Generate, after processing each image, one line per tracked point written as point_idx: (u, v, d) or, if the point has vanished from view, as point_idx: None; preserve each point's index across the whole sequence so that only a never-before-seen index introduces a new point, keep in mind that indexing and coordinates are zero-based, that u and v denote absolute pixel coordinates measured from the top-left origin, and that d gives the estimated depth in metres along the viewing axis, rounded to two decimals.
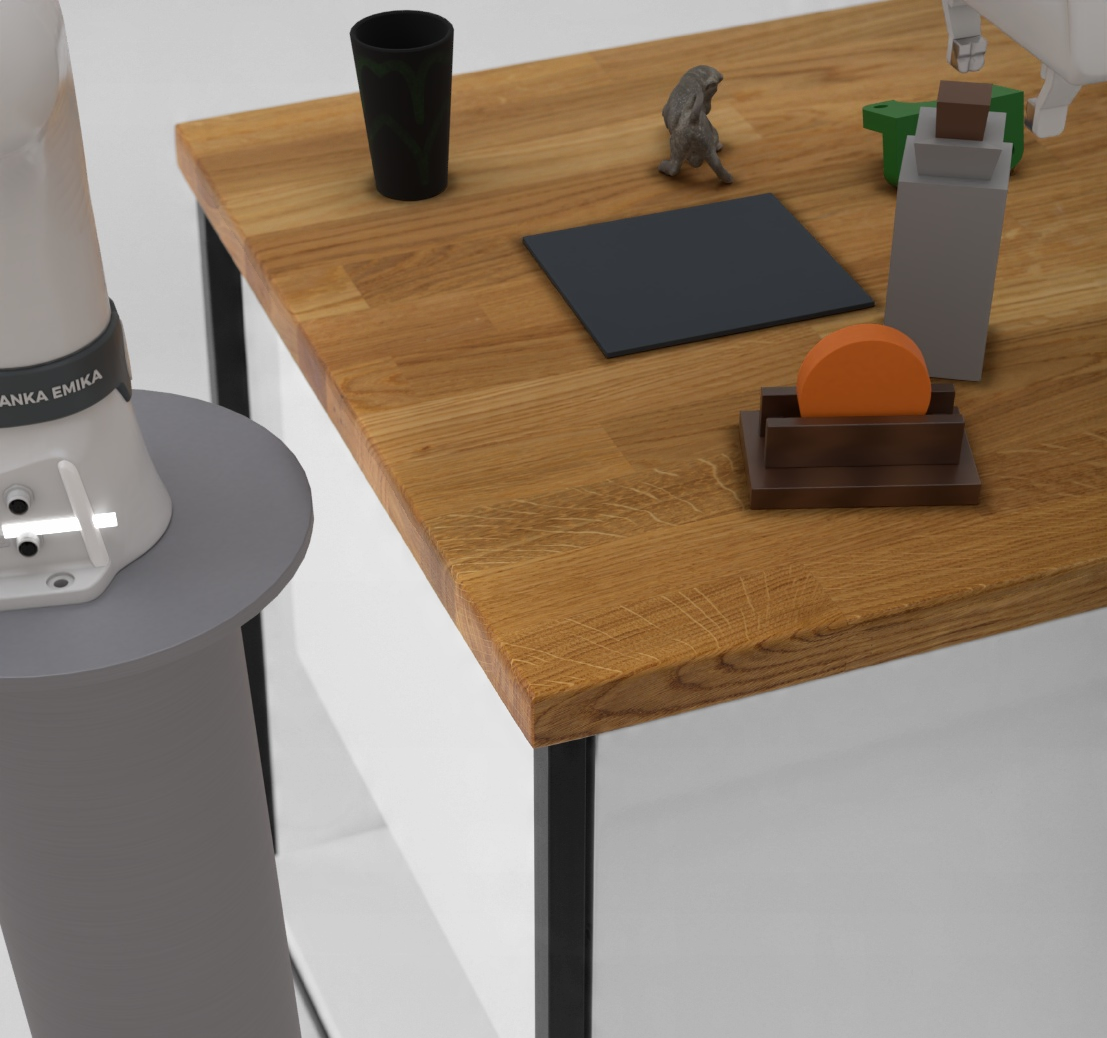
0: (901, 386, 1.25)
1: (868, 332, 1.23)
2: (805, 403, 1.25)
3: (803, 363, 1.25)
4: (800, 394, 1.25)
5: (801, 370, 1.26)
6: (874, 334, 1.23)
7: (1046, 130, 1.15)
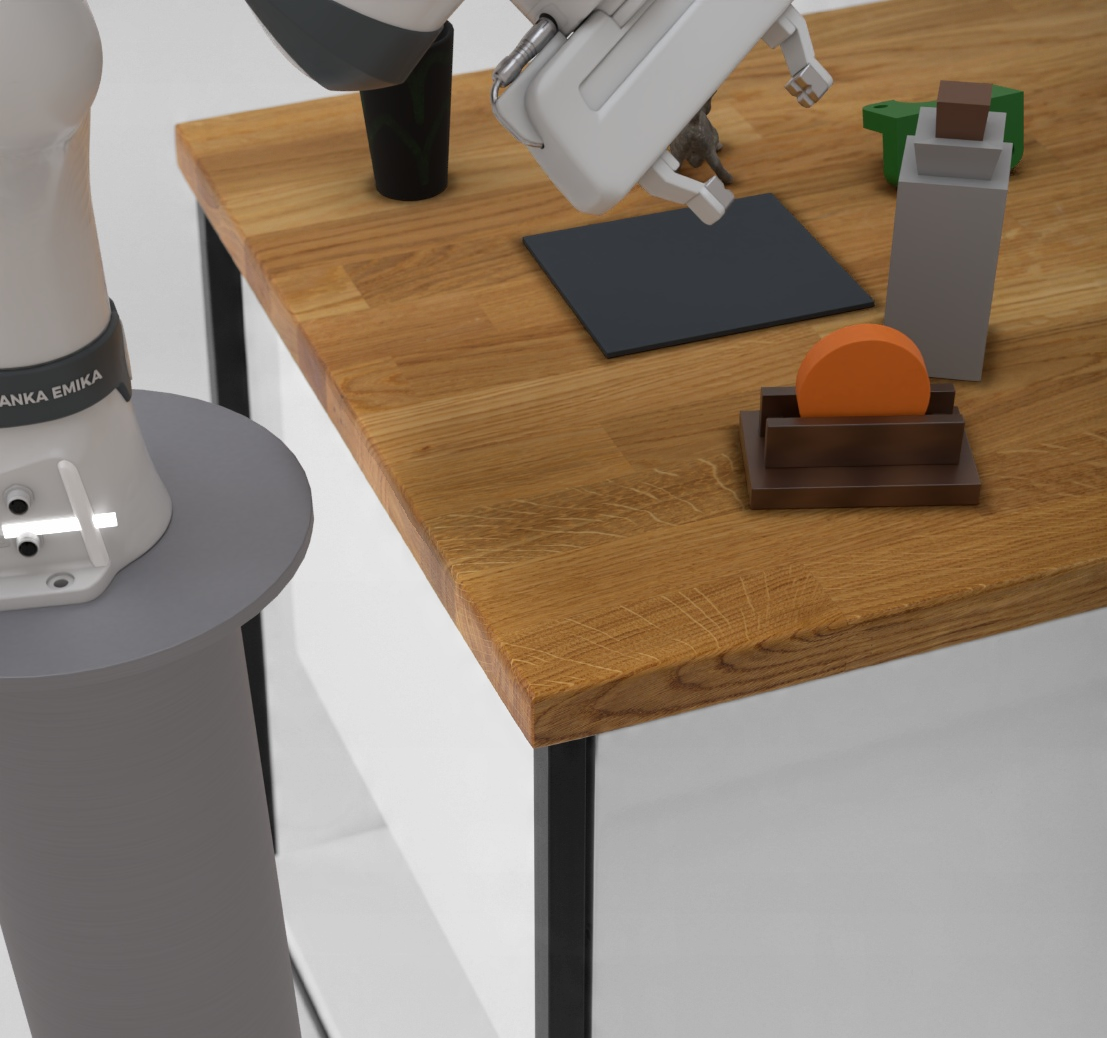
0: (900, 386, 1.25)
1: (866, 332, 1.23)
2: (804, 404, 1.25)
3: (802, 364, 1.25)
4: (799, 395, 1.25)
5: (800, 370, 1.26)
6: (872, 334, 1.23)
7: None
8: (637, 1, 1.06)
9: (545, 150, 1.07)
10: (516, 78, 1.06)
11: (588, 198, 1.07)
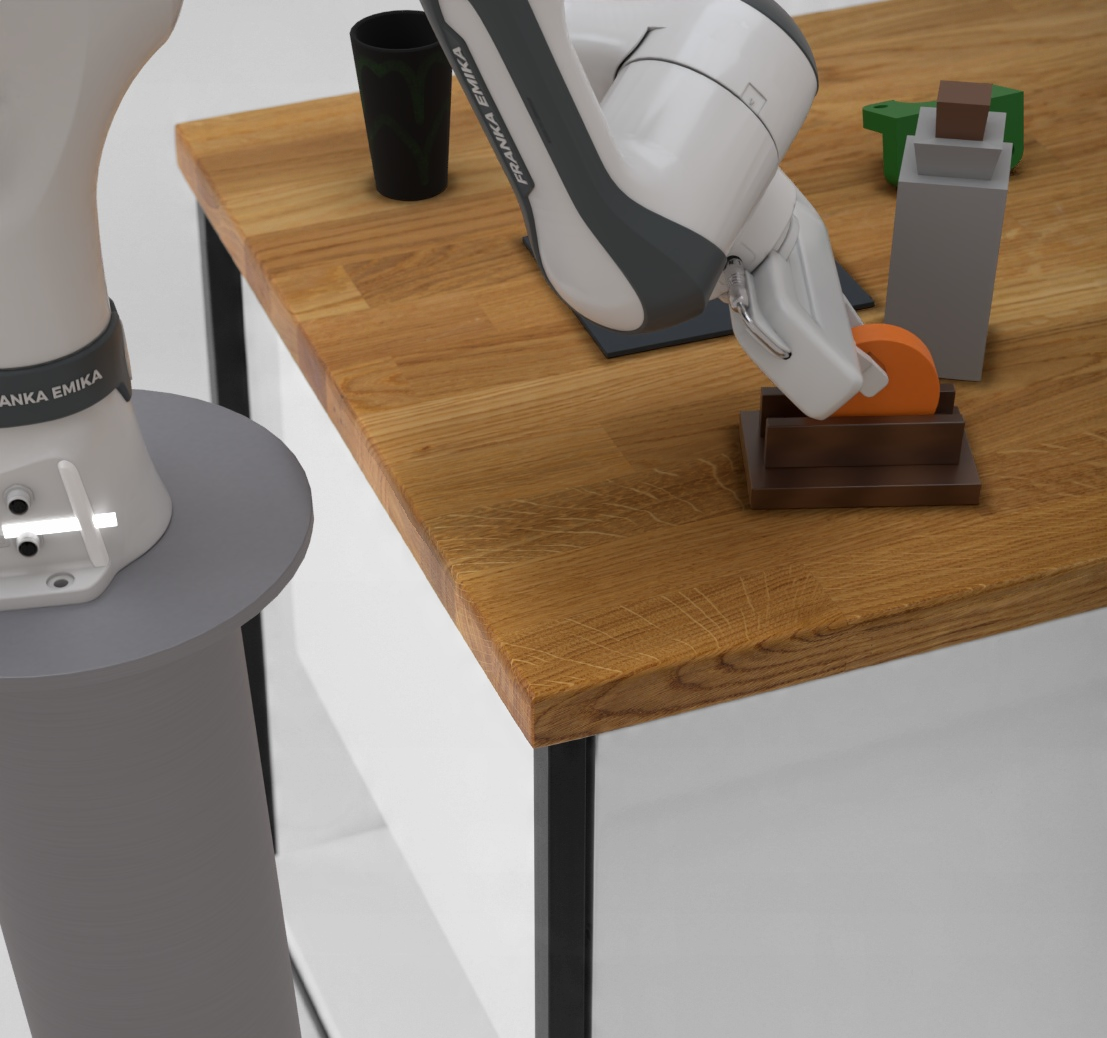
0: (910, 390, 1.25)
1: (885, 332, 1.23)
2: None
3: None
4: None
5: None
6: (891, 335, 1.23)
7: None
8: (794, 237, 1.17)
9: (790, 360, 1.13)
10: (749, 302, 1.13)
11: (835, 394, 1.15)
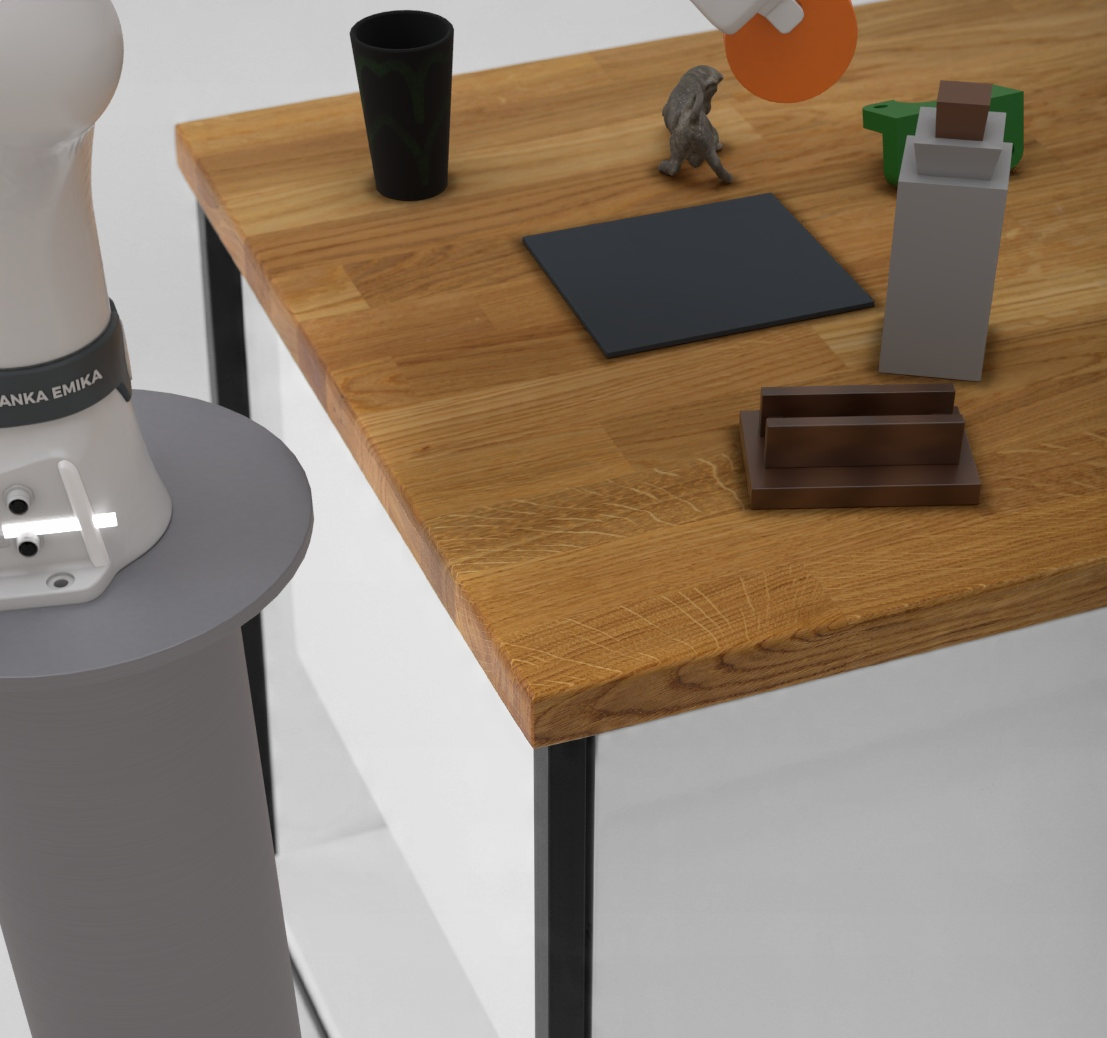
0: (828, 30, 1.24)
1: None
2: (731, 37, 1.24)
3: None
4: None
5: None
6: None
7: None
8: None
9: None
10: None
11: (743, 2, 1.14)
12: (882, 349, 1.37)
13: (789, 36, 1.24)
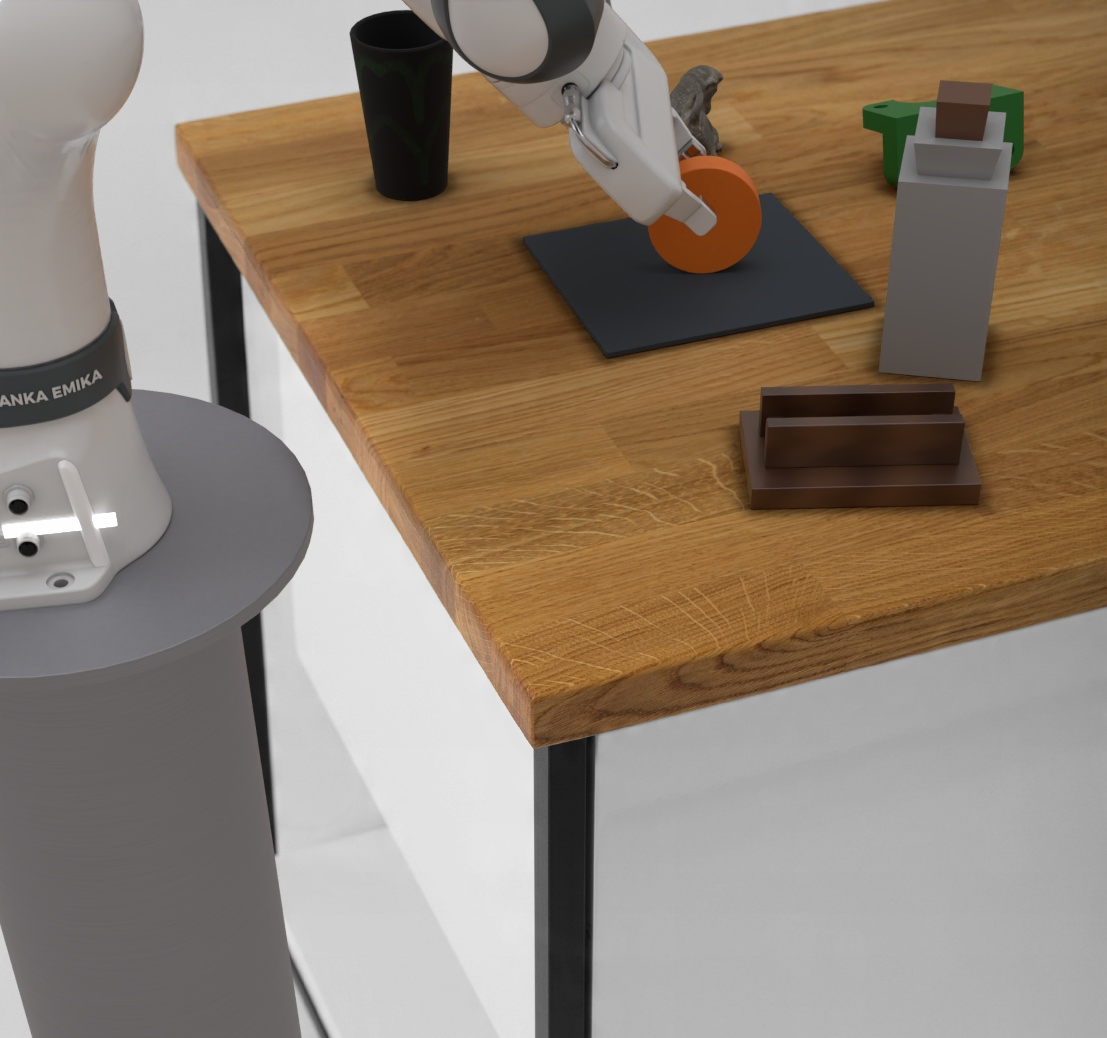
0: (736, 214, 1.44)
1: (712, 162, 1.43)
2: None
3: None
4: None
5: None
6: (717, 164, 1.43)
7: None
8: (626, 69, 1.37)
9: (617, 169, 1.33)
10: (582, 119, 1.32)
11: (657, 201, 1.34)
12: (882, 349, 1.37)
13: None
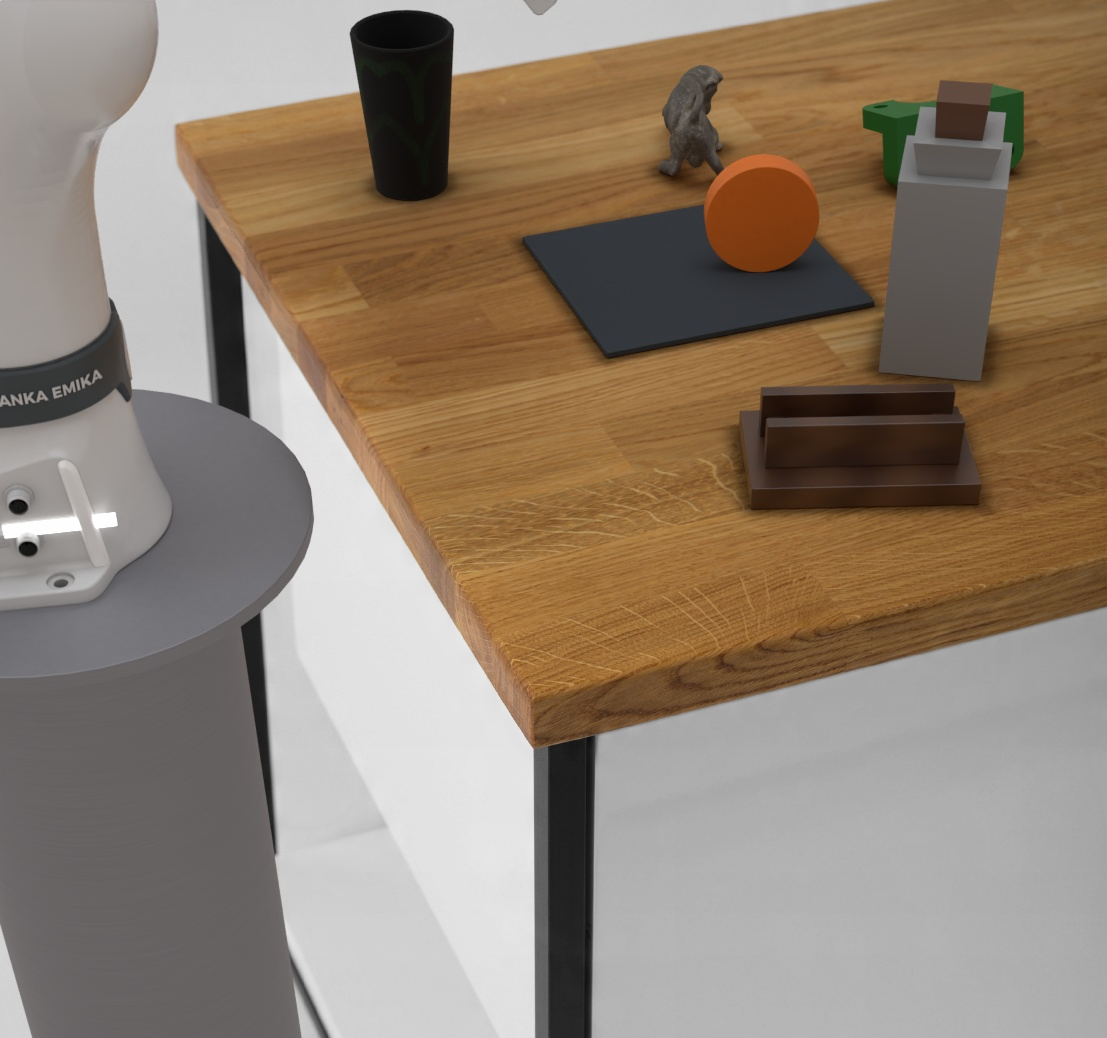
0: (783, 241, 1.46)
1: (814, 190, 1.44)
2: (739, 178, 1.43)
3: (760, 156, 1.43)
4: (745, 170, 1.42)
5: (755, 157, 1.43)
6: None
7: None
8: None
9: None
10: None
11: None
12: (882, 349, 1.37)
13: (763, 217, 1.45)
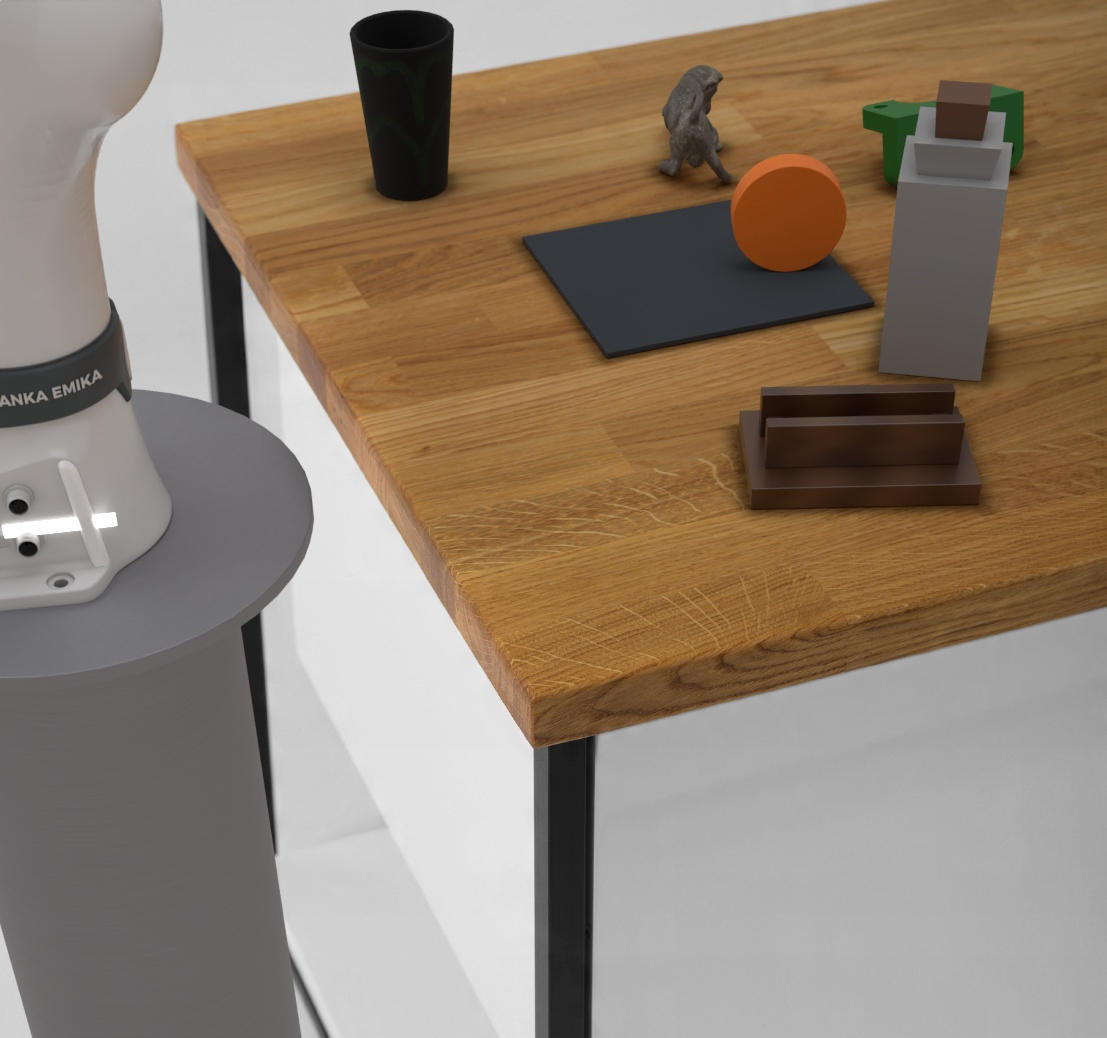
0: (797, 247, 1.46)
1: None
2: (790, 170, 1.42)
3: (814, 159, 1.44)
4: (799, 165, 1.42)
5: (809, 158, 1.43)
6: None
7: None
8: None
9: None
10: None
11: None
12: (882, 349, 1.37)
13: (792, 218, 1.45)
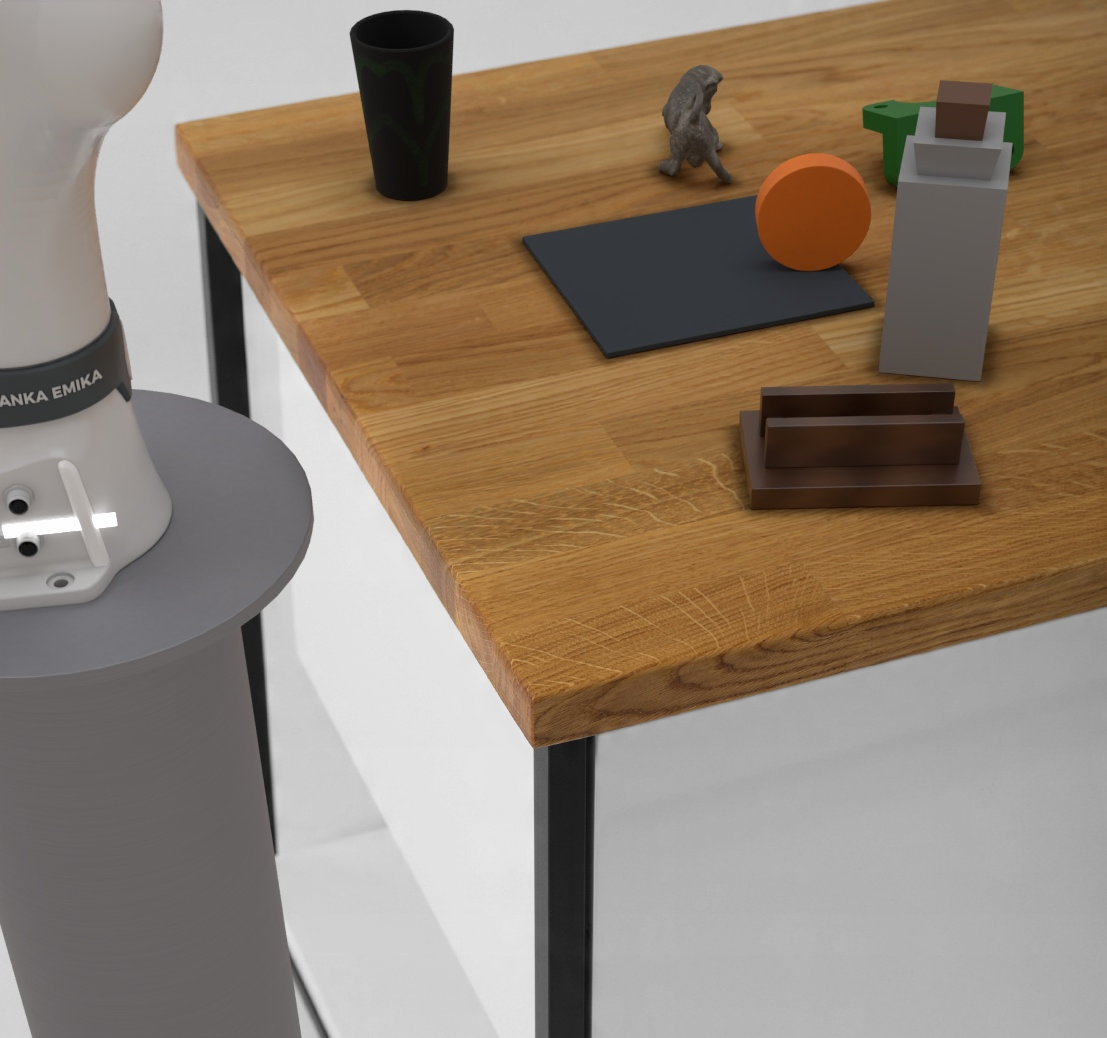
0: (808, 248, 1.46)
1: None
2: (838, 173, 1.42)
3: (857, 173, 1.44)
4: (847, 172, 1.43)
5: (854, 170, 1.44)
6: None
7: None
8: None
9: None
10: None
11: None
12: (882, 349, 1.37)
13: (817, 218, 1.45)
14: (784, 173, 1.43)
